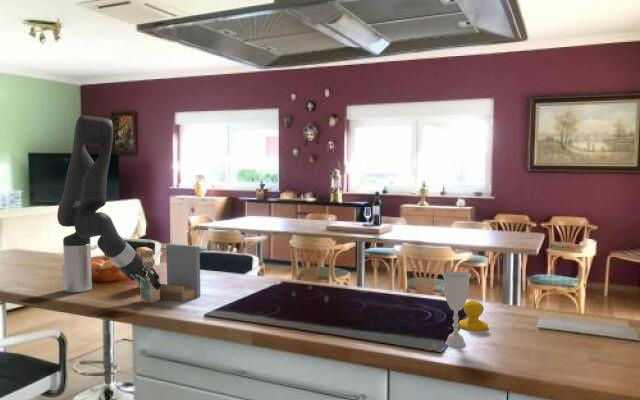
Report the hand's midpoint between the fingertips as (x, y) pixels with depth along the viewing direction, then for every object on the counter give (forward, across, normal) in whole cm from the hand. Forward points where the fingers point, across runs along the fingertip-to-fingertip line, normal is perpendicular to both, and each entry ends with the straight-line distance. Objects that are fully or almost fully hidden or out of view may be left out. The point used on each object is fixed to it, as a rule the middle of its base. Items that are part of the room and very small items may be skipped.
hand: (152, 286), depth 183 cm
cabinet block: (+2, 0, +4) cm, 5 cm away
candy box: (+11, +15, -4) cm, 19 cm away
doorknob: (+16, -105, -9) cm, 107 cm away
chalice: (+4, -104, +3) cm, 104 cm away
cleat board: (+8, -5, -1) cm, 9 cm away
